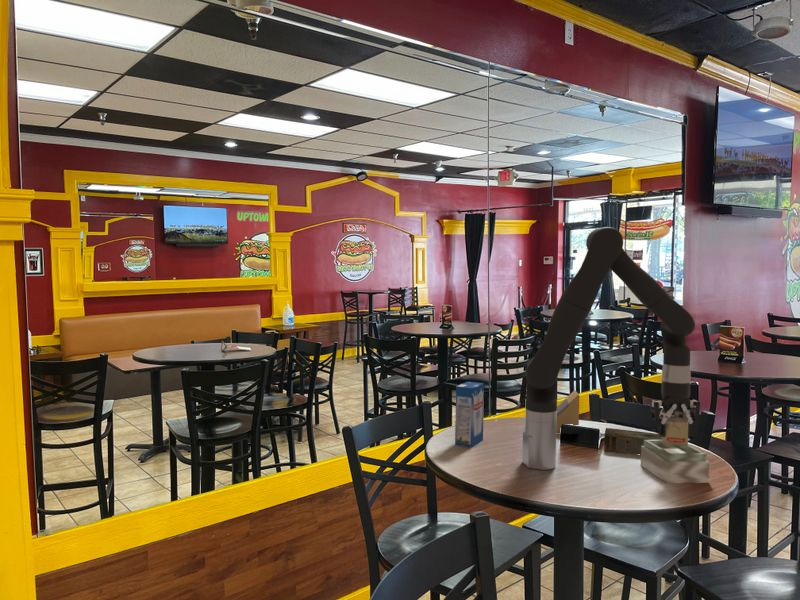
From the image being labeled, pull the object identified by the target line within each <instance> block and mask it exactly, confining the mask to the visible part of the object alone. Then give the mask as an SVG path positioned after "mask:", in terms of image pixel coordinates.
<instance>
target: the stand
mask: <svg viewBox="0 0 800 600" xmlns="http://www.w3.org/2000/svg"><path fill="white" fill-rule="evenodd" d="M661 441H662V440H644V446H641V455H640V466H641V467H643V468H644V469H645V470H646V471H649V472H650V473H651V474H653V475H654V476H656V477H657V478H659V479H661V481H663V482H665V483H666V484H700V483H701V484H705V483H707V484H709V481H710V480H709V479H710V461H709V460H707V458H708V456H707V455H708V454H707V453H706V452H703V451H701V449H698V448H696V447H694V446H692V445H691V444H688V445H687V446H679V445H666V444H663V443H661Z"/></svg>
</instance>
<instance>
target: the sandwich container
mask: <svg viewBox="0 0 800 600" xmlns="http://www.w3.org/2000/svg"><path fill="white" fill-rule="evenodd" d="M562 424H573V425H579V424H580V394H579V393H578V392H577V391H576V389H574V390H573V391H572V392H571V393H570V394H569V395H568V396H567V397H566V398H564V399H563V400H562V402H560V403H559V404H557V426H556V433H560V428H561V425H562Z"/></svg>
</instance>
